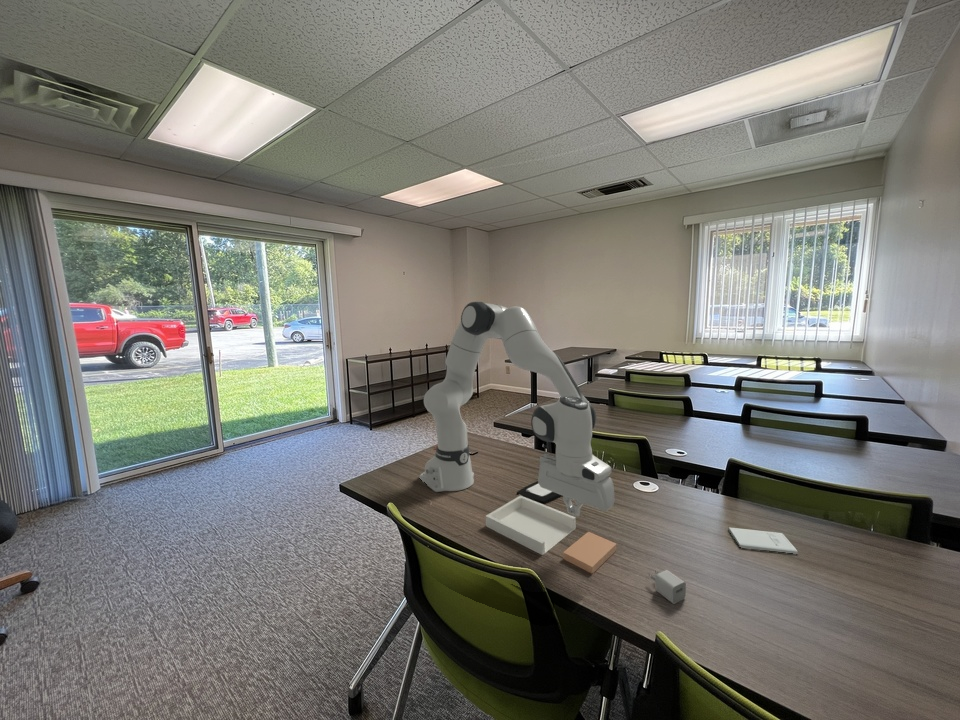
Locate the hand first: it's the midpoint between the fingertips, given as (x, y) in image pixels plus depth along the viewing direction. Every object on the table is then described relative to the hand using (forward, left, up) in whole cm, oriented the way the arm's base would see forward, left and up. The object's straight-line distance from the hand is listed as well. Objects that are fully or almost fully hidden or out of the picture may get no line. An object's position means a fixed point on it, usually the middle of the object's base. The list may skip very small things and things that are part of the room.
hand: (573, 513), depth 96 cm
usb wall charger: (+22, +1, -11) cm, 24 cm away
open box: (-15, +1, -10) cm, 18 cm away
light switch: (-25, +23, -11) cm, 35 cm away
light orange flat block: (+4, +1, -11) cm, 12 cm away
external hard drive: (+34, +35, -11) cm, 50 cm away
